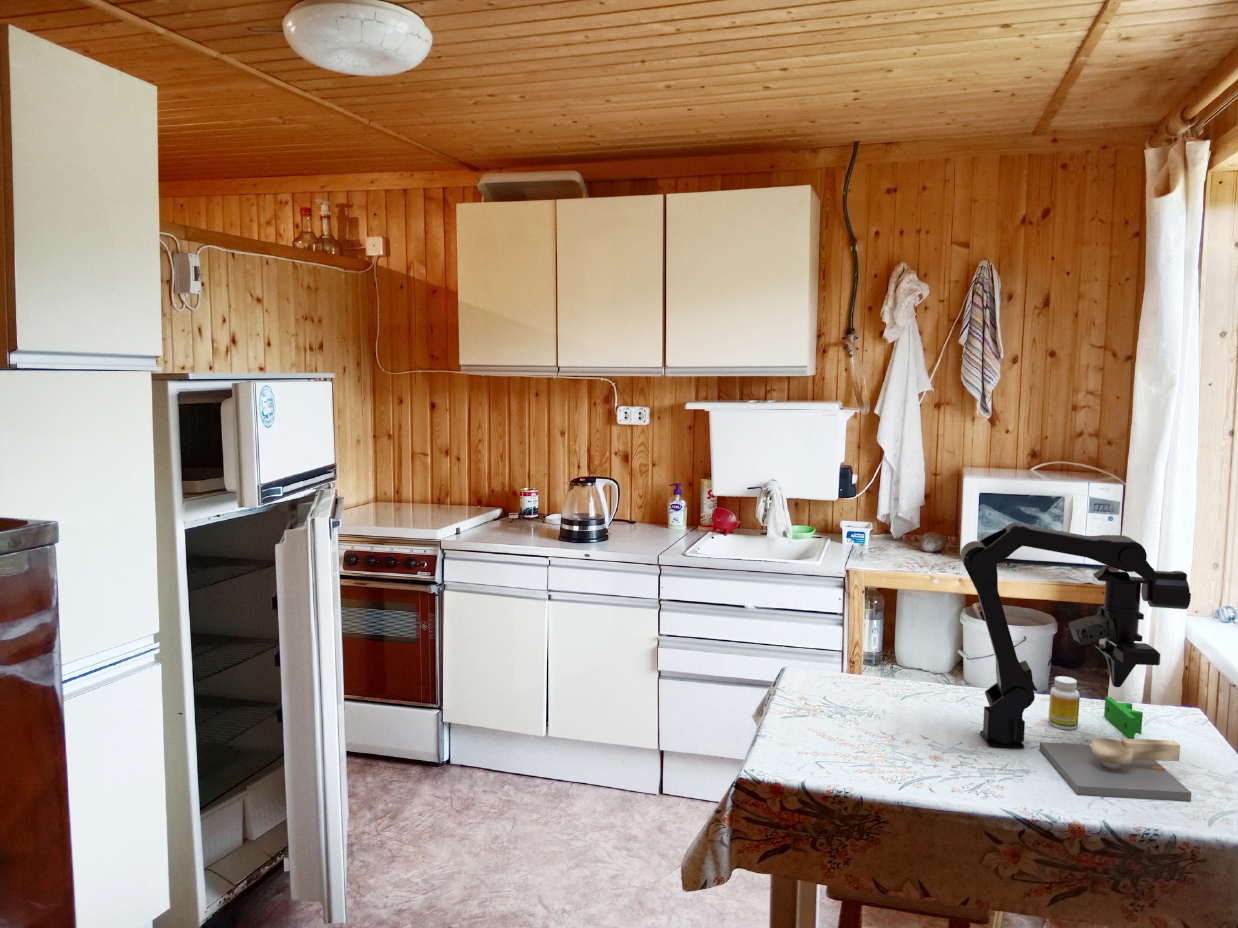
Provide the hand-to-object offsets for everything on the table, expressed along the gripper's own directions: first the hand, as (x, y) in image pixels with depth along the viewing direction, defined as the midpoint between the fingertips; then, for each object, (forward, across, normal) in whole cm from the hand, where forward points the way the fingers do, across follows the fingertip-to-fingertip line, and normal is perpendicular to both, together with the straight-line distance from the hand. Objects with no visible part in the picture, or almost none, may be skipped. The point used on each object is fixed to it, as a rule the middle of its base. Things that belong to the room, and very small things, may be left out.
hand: (1116, 686), depth 163 cm
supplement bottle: (+13, -13, -4) cm, 19 cm away
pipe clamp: (+13, -13, +8) cm, 20 cm away
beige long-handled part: (+10, +9, 0) cm, 13 cm away
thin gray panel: (+13, +9, -4) cm, 16 cm away
